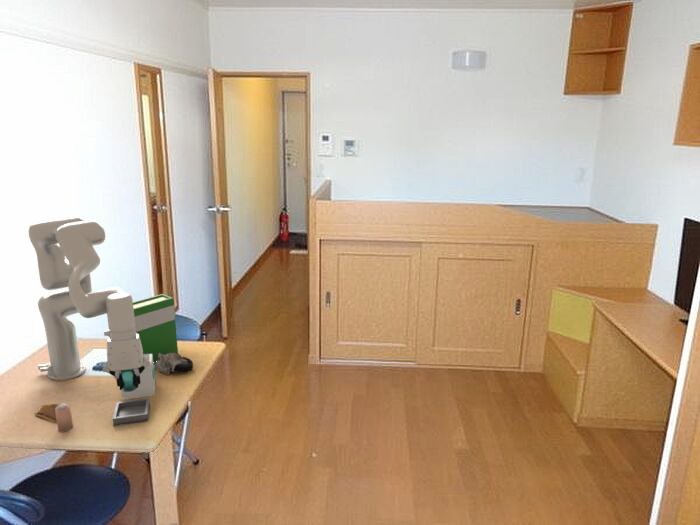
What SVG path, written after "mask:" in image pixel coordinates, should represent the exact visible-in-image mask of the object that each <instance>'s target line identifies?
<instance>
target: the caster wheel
mask: <svg viewBox="0 0 700 525" xmlns="http://www.w3.org/2000/svg"><path fill="white" fill-rule="evenodd" d="M193 366H194V361H193V360H192V359H190V358H189V357H186V356H185V357H184V356H182V355H181V354H179V352H178V353H168V354H165V355H162V354H160V353H159V354H158V359H157V362H156V364H155V370H157V371H159V372H161V373H163V374H164V375H166V376H169V375H170V372H174V373H175V372H176V373H180V374H184V373H185V374H186V373H189V372H191V371H192V370H193Z"/></svg>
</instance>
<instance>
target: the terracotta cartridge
mask: <svg viewBox="0 0 700 525" xmlns="http://www.w3.org/2000/svg"><path fill="white" fill-rule="evenodd" d="M60 404H61V405H59V406H57V407H56V408H55V413H56V419H57V423H56V424H57V431H59V432H68V431H70V430H71V429H73V427H74V426H73V424H74V423H73V418H72V412H71V410H72V409H71V406H70V404H67V403H60Z"/></svg>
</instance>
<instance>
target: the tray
mask: <svg viewBox="0 0 700 525" xmlns="http://www.w3.org/2000/svg"><path fill="white" fill-rule="evenodd" d="M115 403H116V404H115V408H114V411H113V416H112V425H113V427H116V426H123V425H130V424H137V423H144V422H148V421H149V416H150V415H149V414H150V408H151V407H150V406H151V402H150V397H148V398H147V397H146V398H141V399H139V398H138V399H132V400H123V401H117V402H115Z"/></svg>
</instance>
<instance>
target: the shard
mask: <svg viewBox="0 0 700 525" xmlns="http://www.w3.org/2000/svg"><path fill="white" fill-rule="evenodd" d="M61 404H62V403H57V402H56V403H49V404H43V405H41V406H40V407H39V410H38V411H36V412H35V413H34V414H35V416H36V417H40V418H43V419H45V420H47V421H50V422H52V423H56V424H57V419H56V413H55V408H56V407H57V406H59V405H61Z"/></svg>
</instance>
